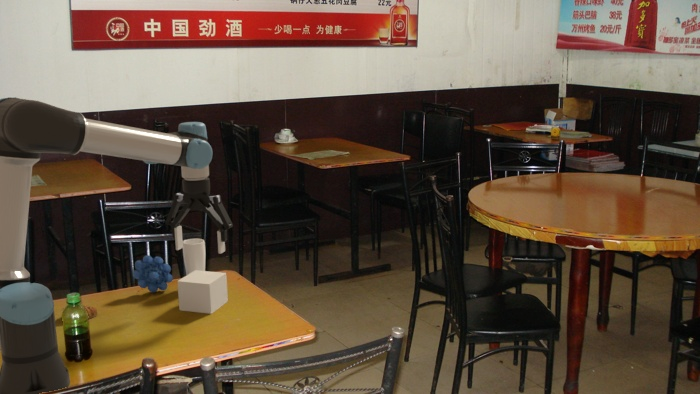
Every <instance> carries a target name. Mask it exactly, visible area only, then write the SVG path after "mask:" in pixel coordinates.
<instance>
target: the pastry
mask: <svg viewBox="0 0 700 394" xmlns="http://www.w3.org/2000/svg"><path fill="white" fill-rule="evenodd" d="M82 306H83V307H84V308H85V309H86V311H87V313H88V316H89V319H88V320H90V319H93V318H95V317H97V316H98V311H97V307H94V306H91V305H90V306H87V305H82ZM65 308H66V307H63V308H62V309H61V310H62V311H63V310H64V309H65ZM62 311H61V312H62Z"/></svg>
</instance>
